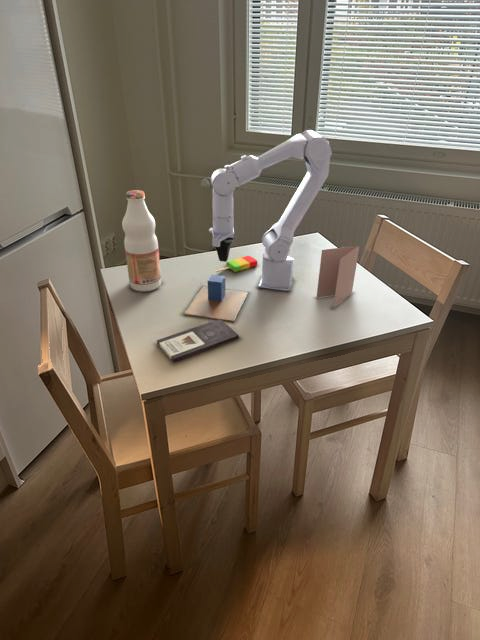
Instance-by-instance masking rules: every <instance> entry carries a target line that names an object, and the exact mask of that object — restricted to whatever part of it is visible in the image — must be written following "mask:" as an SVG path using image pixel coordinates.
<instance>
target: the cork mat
mask: <svg viewBox="0 0 480 640" xmlns="http://www.w3.org/2000/svg"><path fill="white" fill-rule="evenodd" d="M248 295H249V292H247V291H242V290H241V291H240V290H233V289H232V290H231V289H226V288H225V296H224V298H223V300H222V301H216V300H209V299H208V286H202V287H201V289H200V290H199V291H198V293H197V294H196V295H195V296H194V298H193V300H192V301H191V303H190V304H189V306H188V307H187V309H186V310H185V311H184V313H183V314H184V315H185V316H192V317H199V318H206V319H213V320H218V319H221V320H222V321H225V322H235V321H236V319H237V317H238V315H239V313H240V311H241V309H242V307H243V305H244V304H245V300H246V299H247V297H248ZM184 315H183V316H184Z"/></svg>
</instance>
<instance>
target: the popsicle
mask: <svg viewBox="0 0 480 640" xmlns="http://www.w3.org/2000/svg"><path fill="white" fill-rule="evenodd" d="M225 265H226V266H225V267H221V268H218V269H215V270H214V272H215V273H219V272H222V271H226V270H231V271H233V272H235V273H237V272H241V271H244V270H248V269H251V268H254V267H257V266H258V260H257V259H256V258H254V257H253V256H251V255H245V256H242V257H238V258H235V259H230V260H227V261H226V262H225Z"/></svg>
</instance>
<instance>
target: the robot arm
mask: <svg viewBox="0 0 480 640" xmlns="http://www.w3.org/2000/svg"><path fill="white" fill-rule="evenodd" d="M332 155H333V152H332V149H331V146H330V142H329V140H328V139H327V138H326V137H324V136H322V135H320V134H318V133H317V132H316V131H314V130H312V129H309V130H308V129H307V130H304V131H303V132H302V133H297V134H295V135H293V136H292V137H291V138H288V139H286V140H285V141H284V142H282V143H279V144H278V145H276V146H275V147H273V148H271V149H269V150H268V151H266V152H264V153H262V154H260V155H259V156H254V155H251V154H250V155H248V156H247V155H246V154H244V155H242V156H240V160H238V161H236V162H234V163H231V164H226V165H224V168H217V169H216V170H214V171H213V172H212V174H211V177H210V178H209V181H210V183H211V186H212V199H211V201H212V204H211V205H212V206H211V207H212V227H210V228H209V229H208V233H210V234H212V238H211V246H212V247H214V248H215V250H216V253H217V257H218V261H219V262H224V263H226V262H227V261H229V260H228V259H229V257H230V251H231V248H232V247H231V246H232V244H233V242H234V240H235V237H236V236H235V235H234V234H235V228H234V192H235V190H236V188H238V187H240V186H242V185H245V184H247V183H249V182H251V181H252V180H255V179H257V178H259V177H260V176H261V173H262V170H264V169H267V168H269V167H271V166H273V165H276V164H279V163H280V162H282V161H285V160H287V159H289V158H292V159H298V160H304V163H305V166H306V170H307V171H306V174H305V176H304V177H303V179H302V181H301V183H300V184H299V186H298V188H297V189H296V191H295V192H294V195H293V196H292V197H291V199H290V201H289V203H288V205H287V207H286V208H285V210H284V212H283V213H282V215H281V217H279V220H278V221H277V222H275V223H273V224H272V226H271V227H270V229H269V230H267V231H266V232H264V234H263V235H262V237H261V244H262V245H263V247H264V251H263V253H262V263H261V264H262V265H261V278H260V280H259V283H258V285H257V287H258V288H259V289H260V288H261V289H269V290H278V291H283V292H289V291H291V289H292V288H291V287H292V285H293V282H294V272H295V258H293V257H290V256H289V255H290V251H291V246H292V244H293V243H294V235H295V231H296V230H297V228H298V226H299V225H300V224H301V221H302V220H303V218H304V216H305V214H306V213H307V211H308V210H309V208H310V206H311V205H312V204H313V201H314V200H315V198H316V197H317V196H318V193H319V192H320V190H321V188H322V187H323V185H324V184H325V182H326V181H327V179H328V177H329V175H330V163H331V157H332Z"/></svg>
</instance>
